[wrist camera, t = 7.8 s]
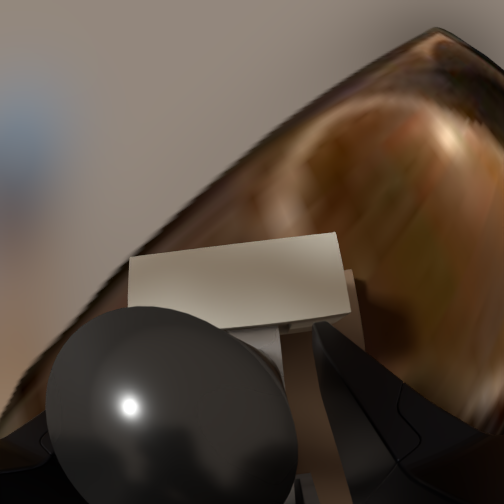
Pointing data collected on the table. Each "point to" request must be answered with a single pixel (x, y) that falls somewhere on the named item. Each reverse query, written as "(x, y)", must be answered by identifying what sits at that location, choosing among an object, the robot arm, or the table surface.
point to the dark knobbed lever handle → (172, 411)
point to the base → (269, 324)
